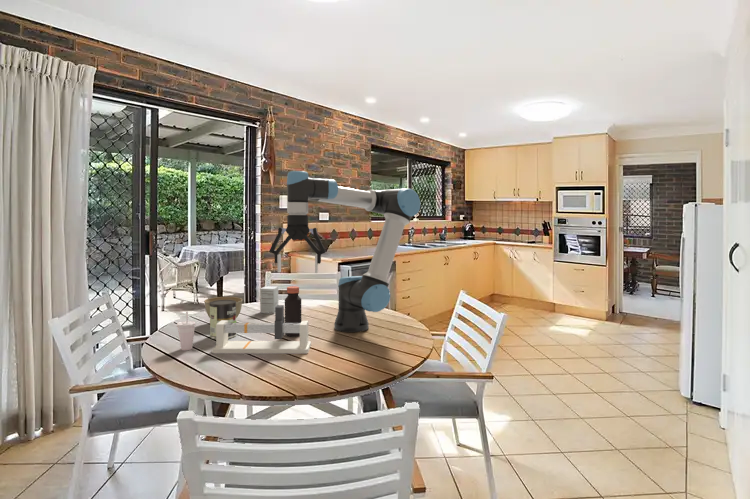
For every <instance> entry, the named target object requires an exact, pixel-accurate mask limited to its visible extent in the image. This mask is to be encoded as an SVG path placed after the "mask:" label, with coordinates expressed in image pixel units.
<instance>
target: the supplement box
mask: <svg viewBox="0 0 750 499" xmlns="http://www.w3.org/2000/svg"><path fill="white" fill-rule="evenodd" d="M259 298H260V299H259V300H260V301H259V302H260V303H259V305H260V314H272V313H274V314H275V307H276V306H277V305H279V286H276V285H275V286H272V285H271V286H270V285H269V286H268V285H267V286H266V285H265V286H263V287H261V288H260V289H259Z"/></svg>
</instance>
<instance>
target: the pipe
mask: <svg viewBox="0 0 750 499" xmlns="http://www.w3.org/2000/svg"><path fill="white" fill-rule="evenodd" d="M224 333H236V334H275V322H236V323H226V324H224ZM282 333H300V323H285V322H284V323H283V324H282Z"/></svg>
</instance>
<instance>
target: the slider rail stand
mask: <svg viewBox="0 0 750 499" xmlns="http://www.w3.org/2000/svg"><path fill="white" fill-rule="evenodd" d="M226 323H228V320H221V321H220V322H219V323H217V324H216V339H215V340H216V341H215V342H216V345H215V346H214V347H213V348H211V349H212V351H211V352H212V354H307V353H308V354H309V352H310V349H311V346H312V341H311V340H309V320H301V323H300V336H299V340H288V341H287V340H270V341H269V340H229V339H228V333H224V324H226Z"/></svg>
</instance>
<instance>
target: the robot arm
mask: <svg viewBox="0 0 750 499" xmlns="http://www.w3.org/2000/svg"><path fill="white" fill-rule="evenodd" d="M286 188H287V189H286V191H287V192H286V196H287V197H286V198H287V201H286V202H287V203H286V206H287V207H286V209H287V210H286V211H287V216H286V217H287V218H286V219H287V220H286V228H285V227H279V228H278V230H277V235H276V236H275V238H274V241H273V243H272V244H271V246H270V249H269V253H271V254H273V255H274V263H275V264H277V273H281V272H282V253H281V251H282V250H283V249H284V248H285V247H286V246H287V244H288V243H289V242H290V241H291V240H293V241H297V240H298V241H303V240H304V241H305V242H306V243H307V244H308V245H309V246H310V248H311V249H312V250H313V251H314V252H315V253H316V254H315V255H314V274H318V272H319V265H321V263H322V255H323V254H326V252H327V251H326V250H327V249H326V248H325V246H324V244H323V242H322V240H321V238H320V236H319V234H318V229H317V227H314V228H309V215H308V214H309V201H314V202H321V203H328V204H334V205H341V206H347V207H355V208H360V209H364V210H365V211H366V212H372V213H376V214H380V215H383V216H384V219H385V220H384V223H383V226H382V228H381V232H380V235H379V237H378V241H377V243H376V246H375V250H374V252H373V256H372V258H371V261H370V264H369V268H368V270H367V272H365V273H363V274H362V275H354V276H352V275H351V276H343V277H340V278H339V279H338V284H337V285H338V286H337V287H338V310H337V315H336V317H335V321H334V324H333V325H334V327H333V328H334V329H335V330H336V331H339V332H344V333H361V332H364V331H367V330H369V321H368V316H367V314H366V311H367V312H373V313H378V312H381V311H383V310H384V309H385V308H386V307H387V306H388V305H389V302H390V300H391V293H390V292H391V291H390V289H389V285H390V281H389V280H388V276H389V274H390V271H391V267H392V264H393V262H394V258H395V255H396V253H397V249H398V246H399V245H400V241H401V238H402V235H403V231H404V229H405V226H407V225H409V224H410V222H411V219H412V217H414V216H416V215H417V214H418V213H419V211H420V209H421V200H420V198H419V194H418V193H417V192H416V191H415V190H414V189H412V188H405V187H402V188H392V189H379V190H378V189H367V190H362V189H355V188H351V187H344V186H339V185H338V182H337V181H336V180H335V179H331V178H330V179H329V178H317V177H316V178H315V177H313V178H312V177H310V176H309V173H308V172H307V171H304V170H302V171H301V170H291V171H288V173H287V178H286ZM285 233H287V235H288V236H286V238H285V239H284V240H283V242H281V244H279V246H278V243H279V242H280V240H281V238H282V235H284V234H285ZM309 233H311V234H312V235H313V237H314V239H315V240H316V243H317V245H318V247H319V248H318V247H317V245H315V244H314V242H313V241H312V240H311V238H310V237H309V236H308V234H309ZM277 246H278V247H277ZM276 248H277V249H276ZM280 253H281V254H280ZM360 331H361V332H360Z"/></svg>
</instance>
